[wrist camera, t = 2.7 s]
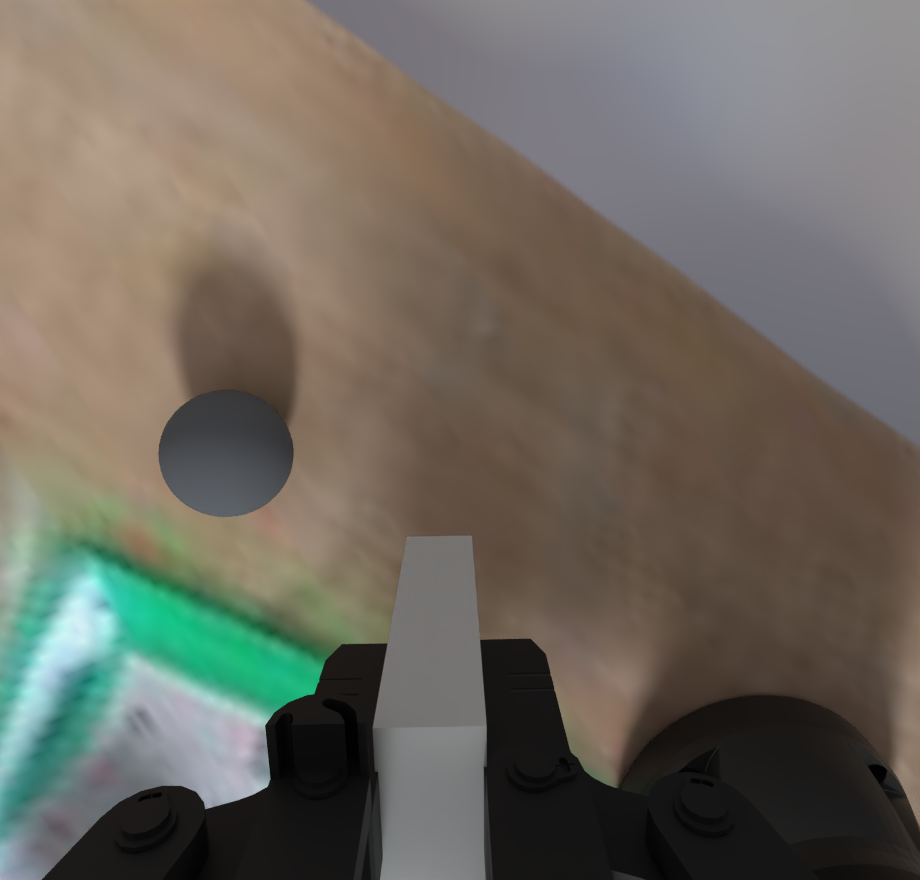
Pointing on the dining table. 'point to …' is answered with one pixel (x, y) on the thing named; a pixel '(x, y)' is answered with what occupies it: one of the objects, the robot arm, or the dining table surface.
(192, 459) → the charcoal grey ball
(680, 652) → the dining table surface
